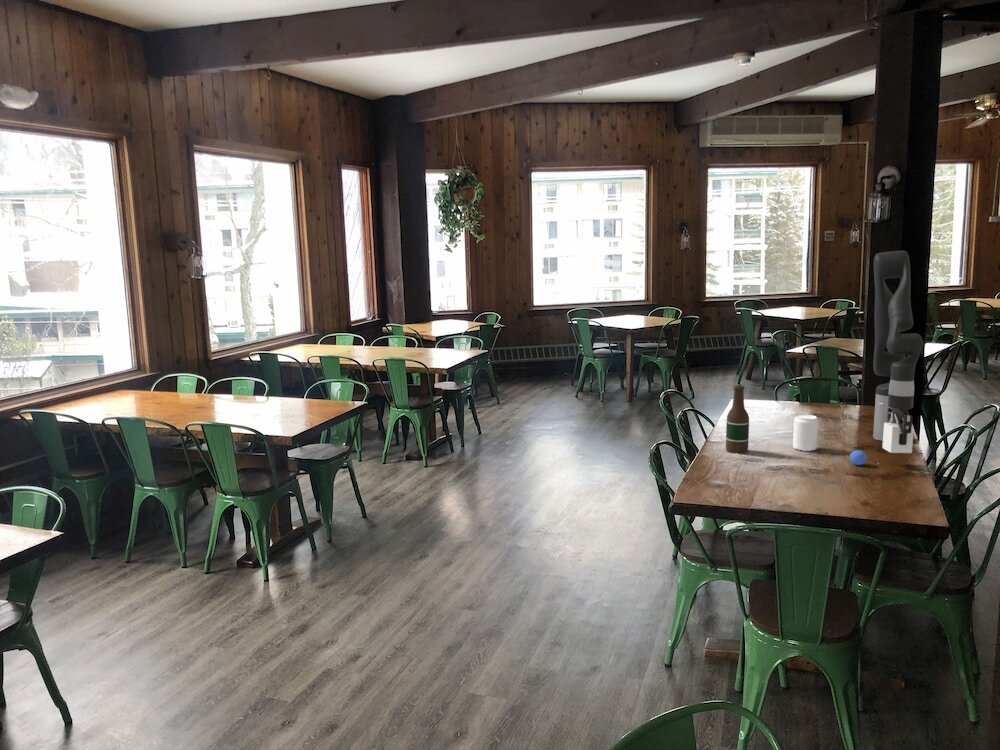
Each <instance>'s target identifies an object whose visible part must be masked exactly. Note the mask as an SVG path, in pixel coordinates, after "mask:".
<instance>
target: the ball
mask: <svg viewBox="0 0 1000 750" xmlns="http://www.w3.org/2000/svg"><path fill="white" fill-rule="evenodd" d="M849 460H850V462H851V463H852V464H853V465H855V466H862V465H864V464H865V463H866V461H867V456H866V454H865V452H864V451H862V450H859V449H858V450H854V451H852V452H851V454H850V455H849Z"/></svg>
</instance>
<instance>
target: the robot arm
mask: <svg viewBox="0 0 1000 750" xmlns="http://www.w3.org/2000/svg"><path fill="white" fill-rule="evenodd" d="M873 274H874V275H873V276H874V279H873V280H874V293H875V294H874V349H873V364H872V365H873V372H874V374H875V375H876V376H880V377H890V380H889V382H887V383H882V384H879V385H877V386H876V388H875V399H874V400H875V401H874V404H875V405H874V417H873V432H872V434H873V435H872V438H873V439H874V440H876V441H877V440H878V441H882V442H883V431H884V423H896V424H897V427H900V429H899V432H900V434H899V444H900V445H906V443H907V434H908V433H911V428H912V426H913V415H909V412H908V410H911V409H913V408H914V397H915V371H916V365H917V363H918V359H919V357H920V355H921V352H922V349H923V345H924V341H923V338H922V336H921V335H920V334H919V333H908V332H907V333H904V332H906V331H908V330H911V329H912V328H913V326H914V318H913V317H914V316H913V310H912V303H911V292H912V290H911V280H912V279H911V263H910V256H909V254H908V252H907V251H906V250H891V251H885V252H884V251H883V252H879V253H878V252H877V253H876V254H875V255H874V259H873ZM897 278H899V279H900V282H899V284H898V285H899V286H898V287H897V289H896V291H895V292H894V293H892V292H891V290H890V289H889V288H888V286H887V284H886V281H885V280H886V279H897ZM885 348H886V349H887V351H885ZM906 356H907V357H906ZM908 426H909V427H908ZM905 427H906V429H905Z"/></svg>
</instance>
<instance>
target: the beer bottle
mask: <svg viewBox="0 0 1000 750" xmlns="http://www.w3.org/2000/svg"><path fill="white" fill-rule="evenodd" d="M732 389H733V390H734V391H733V399H732V400H733V401H732V405H731V408H730V410H729V412H728V413H727V416H726V424H725V425H726V427H725V428H726V432H725V450H727V451H726V452H728V453H729V452H730V453H729V454H735V453H744V454H746V453H748V451H749V441H750V440H749V439H750V438H749V434H750V432H749V431H750V416H749V414H748V411H747V410H746V407H745V398H744V397H745V394H744V393H745V391H744V390H745V386H743V385H734V386H733V388H732Z"/></svg>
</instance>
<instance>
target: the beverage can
mask: <svg viewBox="0 0 1000 750" xmlns="http://www.w3.org/2000/svg"><path fill="white" fill-rule="evenodd" d="M818 432H819V420H818V417H817V416H815V415H811V414H797V415H796V416H795V418H794V419H793V436H792V438H793V440H792V447H793V449H795V450H797V449H798V450H797V451H800V450H802V451H801V452H813V451H815V450H817V449H818ZM812 450H813V451H812Z"/></svg>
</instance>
